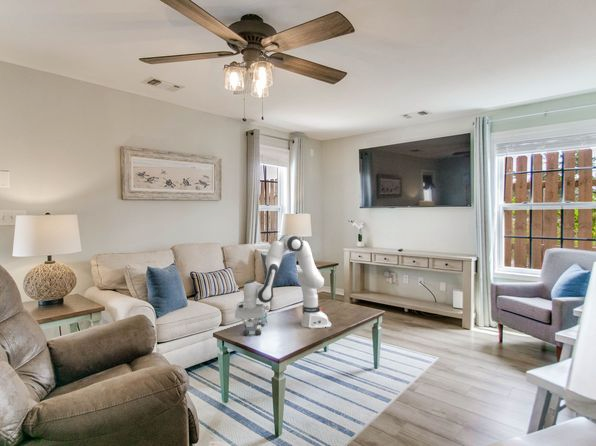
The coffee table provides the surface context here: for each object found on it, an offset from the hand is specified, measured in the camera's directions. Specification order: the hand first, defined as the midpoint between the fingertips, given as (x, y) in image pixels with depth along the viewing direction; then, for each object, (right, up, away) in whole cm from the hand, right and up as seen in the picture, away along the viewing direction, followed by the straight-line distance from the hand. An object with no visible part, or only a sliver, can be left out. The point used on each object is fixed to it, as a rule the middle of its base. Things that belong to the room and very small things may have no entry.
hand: (250, 324), depth 230 cm
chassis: (+2, -6, 0) cm, 6 cm away
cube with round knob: (0, -4, 0) cm, 4 cm away
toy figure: (+7, -6, +16) cm, 18 cm away
